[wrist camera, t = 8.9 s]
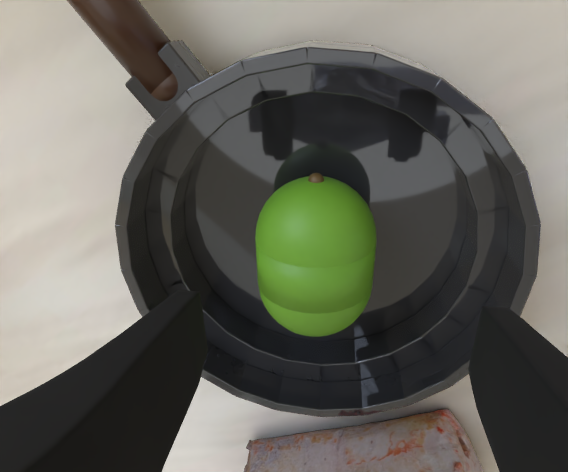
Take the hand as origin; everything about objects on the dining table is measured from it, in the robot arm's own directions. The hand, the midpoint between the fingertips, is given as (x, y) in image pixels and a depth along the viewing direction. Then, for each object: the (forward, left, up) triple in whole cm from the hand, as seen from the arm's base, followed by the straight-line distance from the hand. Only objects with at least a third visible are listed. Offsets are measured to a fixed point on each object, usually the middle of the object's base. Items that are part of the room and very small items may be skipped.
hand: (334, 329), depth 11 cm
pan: (0, +2, -9) cm, 9 cm away
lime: (0, +2, -9) cm, 9 cm away
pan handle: (+10, -5, -7) cm, 14 cm away
